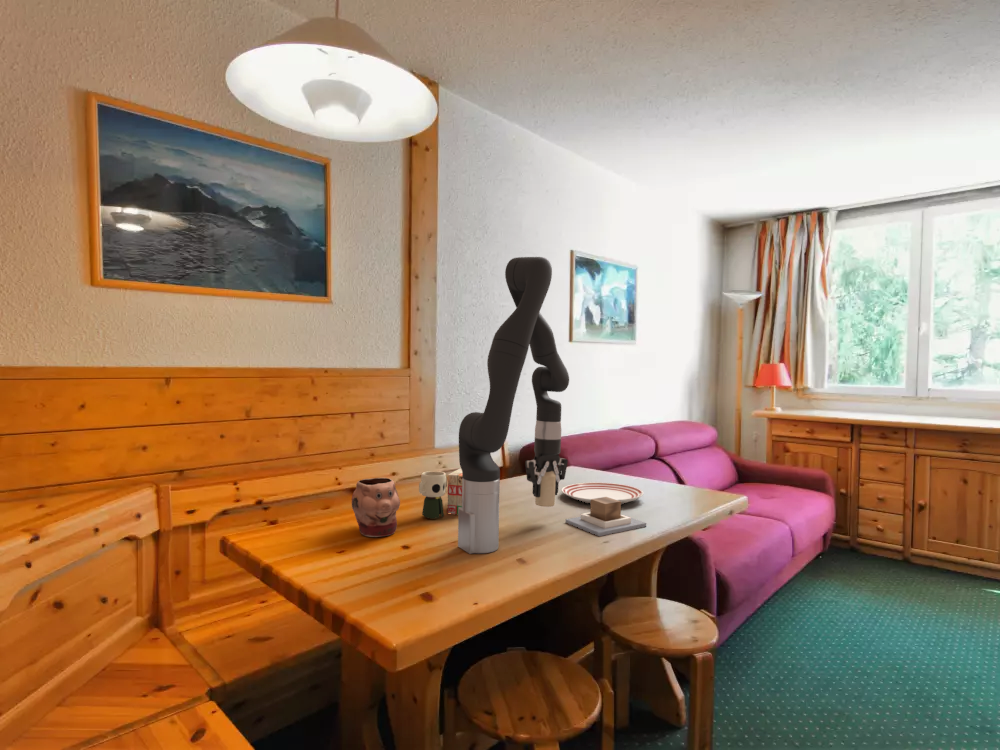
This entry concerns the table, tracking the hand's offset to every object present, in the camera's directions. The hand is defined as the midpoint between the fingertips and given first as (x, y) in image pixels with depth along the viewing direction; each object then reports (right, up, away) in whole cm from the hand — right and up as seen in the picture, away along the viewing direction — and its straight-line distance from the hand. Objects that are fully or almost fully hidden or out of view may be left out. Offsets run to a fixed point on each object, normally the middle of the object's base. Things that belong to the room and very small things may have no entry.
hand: (545, 495), depth 155 cm
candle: (0, -3, 0) cm, 3 cm away
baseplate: (+17, -8, 0) cm, 19 cm away
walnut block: (+17, -7, 0) cm, 19 cm away
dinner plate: (+22, -8, +30) cm, 38 cm away
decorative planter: (-46, -8, -10) cm, 48 cm away
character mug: (-33, -7, +4) cm, 34 cm away
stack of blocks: (-23, -8, +17) cm, 29 cm away
